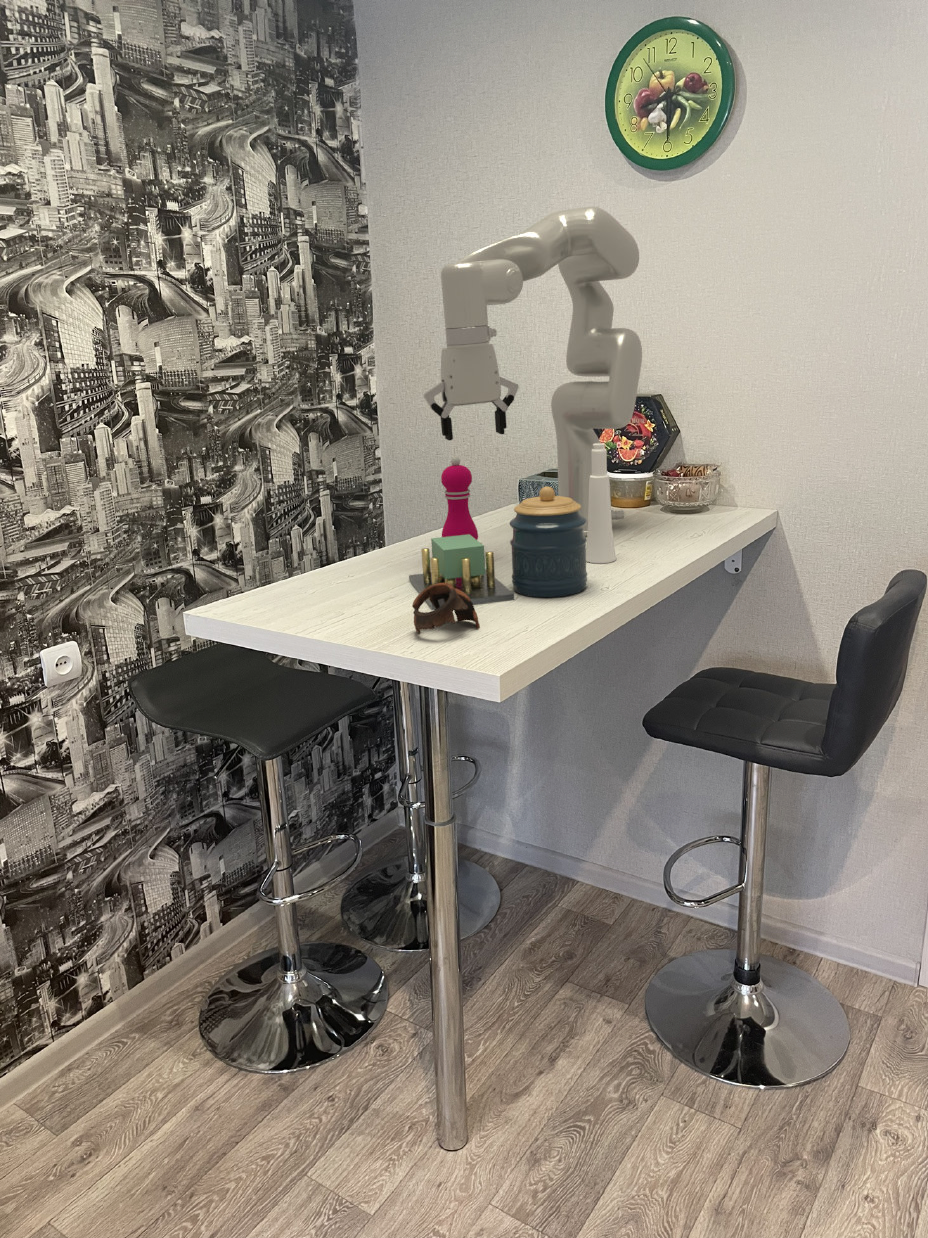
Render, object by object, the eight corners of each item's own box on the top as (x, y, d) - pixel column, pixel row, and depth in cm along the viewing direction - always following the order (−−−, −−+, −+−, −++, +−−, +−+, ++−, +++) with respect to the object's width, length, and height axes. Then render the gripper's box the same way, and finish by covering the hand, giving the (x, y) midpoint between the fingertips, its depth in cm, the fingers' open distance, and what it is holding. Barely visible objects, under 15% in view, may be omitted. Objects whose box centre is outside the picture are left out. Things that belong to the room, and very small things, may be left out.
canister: (541, 603, 153) (538, 496, 148) (497, 587, 164) (493, 487, 158) (603, 588, 159) (602, 485, 154) (556, 574, 170) (554, 477, 165)
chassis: (482, 572, 174) (481, 535, 172) (514, 599, 156) (512, 558, 154) (409, 580, 171) (406, 543, 169) (432, 609, 153) (429, 568, 151)
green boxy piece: (470, 561, 168) (469, 534, 167) (485, 574, 159) (484, 545, 157) (433, 565, 167) (431, 538, 165) (445, 579, 157) (443, 550, 156)
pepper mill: (475, 562, 182) (470, 459, 176) (439, 562, 184) (432, 460, 178) (482, 553, 189) (477, 453, 183) (447, 553, 190) (441, 454, 184)
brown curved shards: (491, 636, 140) (467, 597, 135) (436, 667, 140) (411, 629, 136) (470, 596, 150) (447, 559, 145) (419, 626, 150) (395, 589, 145)
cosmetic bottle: (621, 561, 176) (620, 444, 170) (591, 565, 175) (589, 446, 168) (608, 554, 182) (607, 440, 175) (579, 558, 181) (577, 443, 174)
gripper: (508, 333, 169) (513, 428, 174) (414, 342, 165) (423, 439, 170) (521, 334, 162) (526, 433, 167) (424, 343, 158) (433, 444, 163)
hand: (474, 436), depth 169 cm, fingers open, 9 cm apart
